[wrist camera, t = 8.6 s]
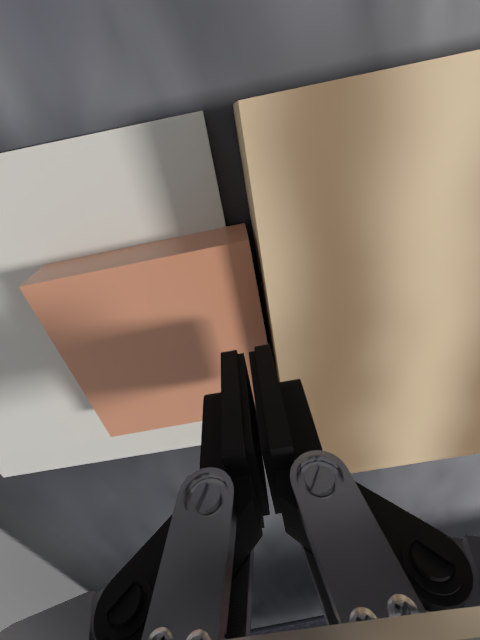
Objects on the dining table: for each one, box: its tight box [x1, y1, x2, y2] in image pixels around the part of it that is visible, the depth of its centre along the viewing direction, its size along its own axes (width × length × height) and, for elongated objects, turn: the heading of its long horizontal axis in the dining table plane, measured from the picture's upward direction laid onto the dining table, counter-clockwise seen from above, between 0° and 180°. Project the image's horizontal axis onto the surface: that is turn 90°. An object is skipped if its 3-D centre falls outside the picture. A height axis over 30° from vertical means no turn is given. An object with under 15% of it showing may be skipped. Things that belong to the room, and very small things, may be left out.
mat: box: [0, 111, 226, 477], centre depth 15 cm, size 16×16×1 cm
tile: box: [19, 223, 268, 437], centre depth 14 cm, size 8×8×2 cm
